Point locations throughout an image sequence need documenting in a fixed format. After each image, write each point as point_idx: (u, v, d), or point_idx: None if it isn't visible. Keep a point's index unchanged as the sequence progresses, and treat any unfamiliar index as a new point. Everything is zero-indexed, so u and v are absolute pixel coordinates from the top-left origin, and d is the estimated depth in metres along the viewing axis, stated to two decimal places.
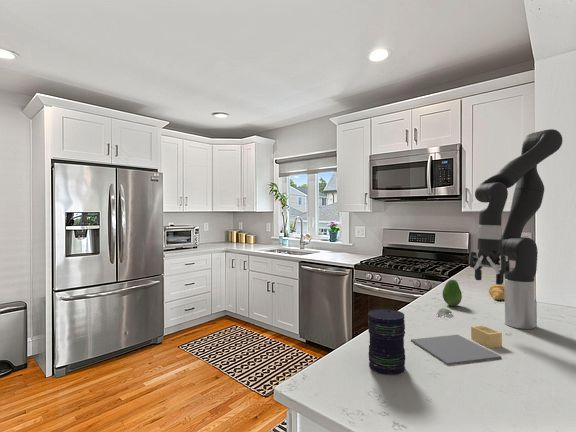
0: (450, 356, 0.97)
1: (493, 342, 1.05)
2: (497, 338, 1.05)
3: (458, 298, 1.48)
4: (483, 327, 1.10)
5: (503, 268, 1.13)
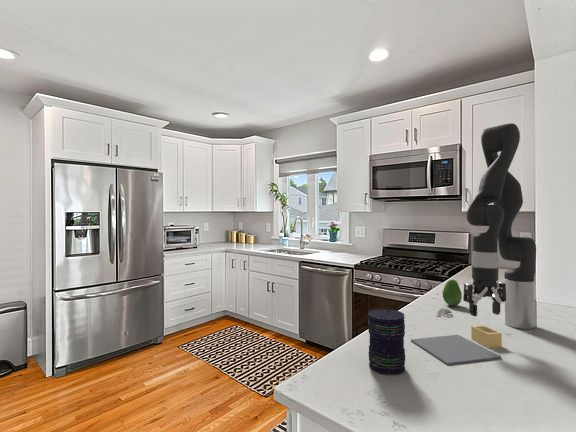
0: (450, 356, 0.97)
1: (493, 342, 1.05)
2: (497, 338, 1.05)
3: (458, 298, 1.48)
4: (483, 327, 1.10)
5: (505, 296, 1.08)
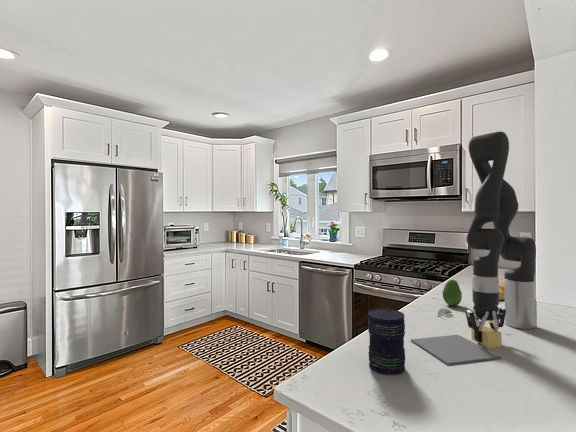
0: (450, 356, 0.97)
1: (492, 342, 1.05)
2: (496, 338, 1.05)
3: (458, 298, 1.48)
4: (483, 327, 1.10)
5: (502, 322, 1.08)
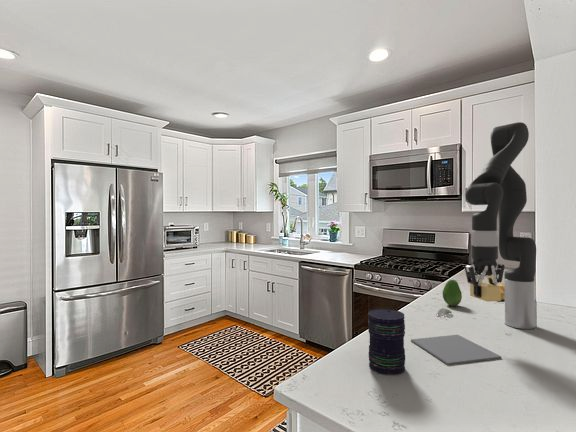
0: (450, 356, 0.97)
1: (492, 295, 1.04)
2: (496, 292, 1.05)
3: (458, 298, 1.48)
4: (482, 283, 1.10)
5: (501, 277, 1.08)
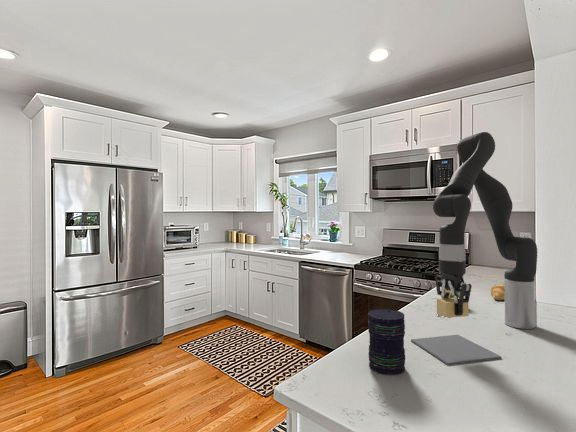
0: (450, 356, 0.97)
1: None
2: None
3: None
4: (445, 299, 1.04)
5: None
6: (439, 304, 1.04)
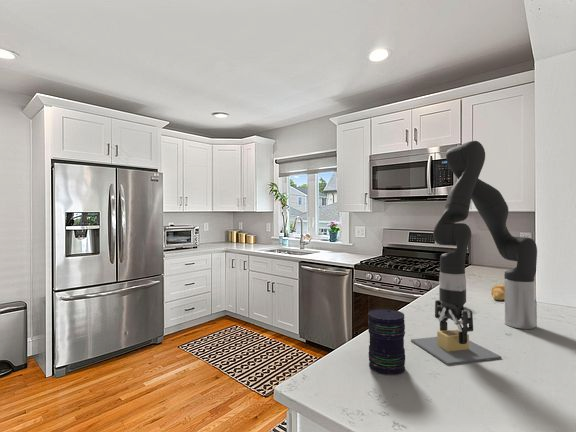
0: (450, 356, 0.97)
1: None
2: None
3: None
4: (446, 332, 1.04)
5: None
6: (440, 337, 1.04)
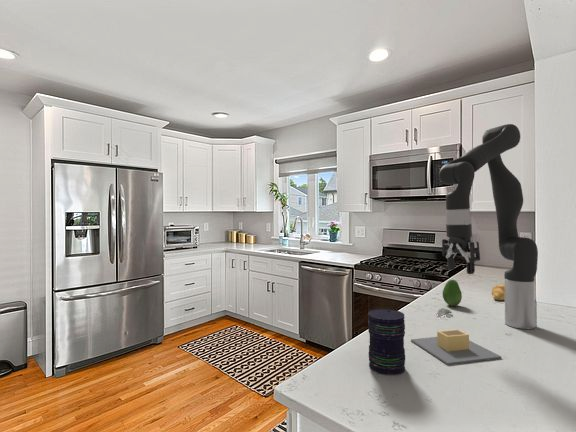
0: (450, 356, 0.97)
1: None
2: None
3: (458, 298, 1.48)
4: (446, 332, 1.04)
5: None
6: (440, 337, 1.04)
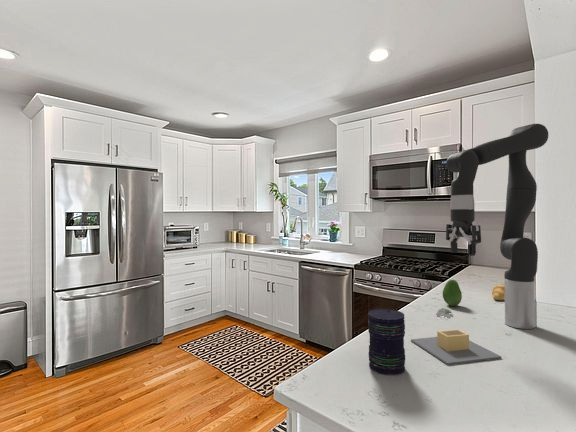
0: (450, 356, 0.97)
1: None
2: None
3: (458, 298, 1.48)
4: (446, 332, 1.04)
5: None
6: (440, 337, 1.04)
